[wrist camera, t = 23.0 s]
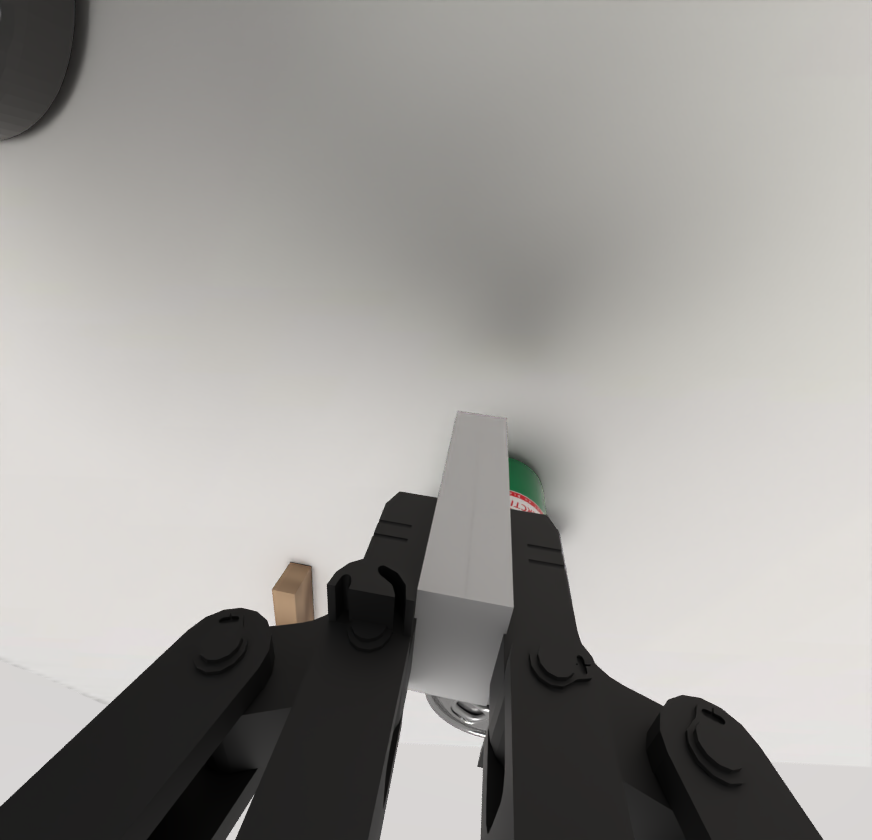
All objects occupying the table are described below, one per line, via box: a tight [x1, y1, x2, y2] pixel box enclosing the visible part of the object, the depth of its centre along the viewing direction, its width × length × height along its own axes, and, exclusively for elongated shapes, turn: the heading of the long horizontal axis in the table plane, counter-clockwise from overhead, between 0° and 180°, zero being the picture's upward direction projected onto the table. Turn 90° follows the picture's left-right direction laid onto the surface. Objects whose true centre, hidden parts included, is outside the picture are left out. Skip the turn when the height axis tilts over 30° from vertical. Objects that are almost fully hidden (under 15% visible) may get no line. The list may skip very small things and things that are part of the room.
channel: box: [272, 562, 314, 626], centre depth 29 cm, size 8×13×2 cm, turn 84°
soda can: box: [426, 458, 546, 738], centre depth 18 cm, size 5×5×12 cm
